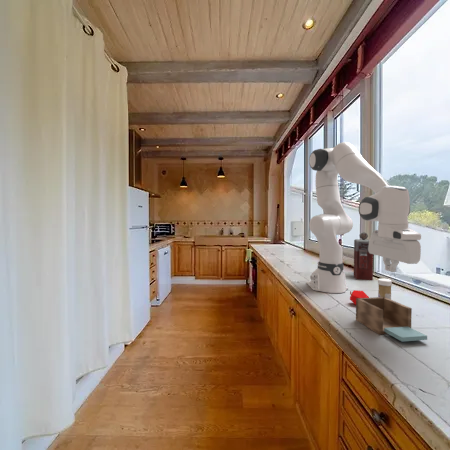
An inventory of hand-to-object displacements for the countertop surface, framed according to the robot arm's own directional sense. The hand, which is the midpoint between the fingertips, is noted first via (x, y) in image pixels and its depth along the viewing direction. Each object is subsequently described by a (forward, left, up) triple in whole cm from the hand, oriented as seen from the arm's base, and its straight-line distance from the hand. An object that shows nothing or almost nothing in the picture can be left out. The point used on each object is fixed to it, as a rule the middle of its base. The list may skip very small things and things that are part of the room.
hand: (390, 271), depth 92 cm
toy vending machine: (-61, +34, -19) cm, 72 cm away
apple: (-19, +2, -19) cm, 27 cm away
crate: (+2, -4, -19) cm, 19 cm away
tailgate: (+8, -4, -18) cm, 20 cm away
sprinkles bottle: (-8, +5, -19) cm, 21 cm away
